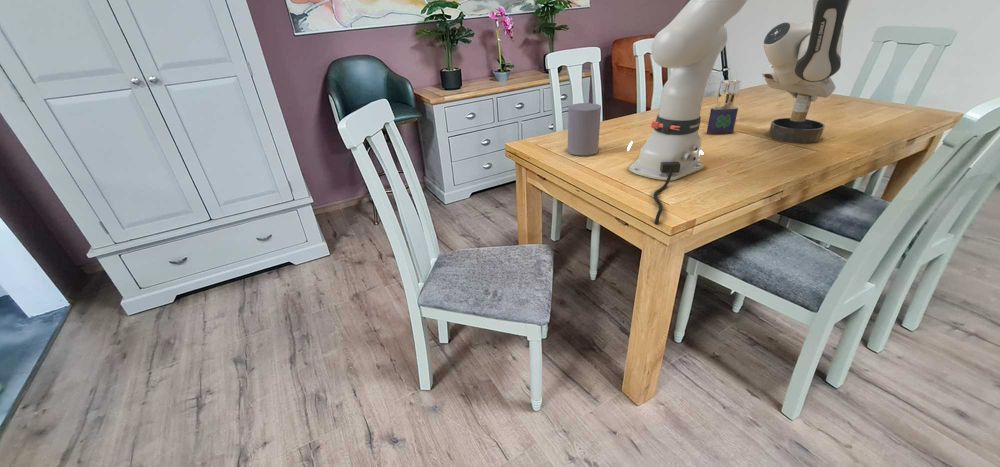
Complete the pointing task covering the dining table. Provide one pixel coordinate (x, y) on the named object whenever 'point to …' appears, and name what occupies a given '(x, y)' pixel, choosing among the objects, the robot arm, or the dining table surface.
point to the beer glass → (728, 93)
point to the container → (583, 129)
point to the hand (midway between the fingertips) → (805, 97)
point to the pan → (796, 130)
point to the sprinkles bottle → (800, 108)
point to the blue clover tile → (722, 120)
